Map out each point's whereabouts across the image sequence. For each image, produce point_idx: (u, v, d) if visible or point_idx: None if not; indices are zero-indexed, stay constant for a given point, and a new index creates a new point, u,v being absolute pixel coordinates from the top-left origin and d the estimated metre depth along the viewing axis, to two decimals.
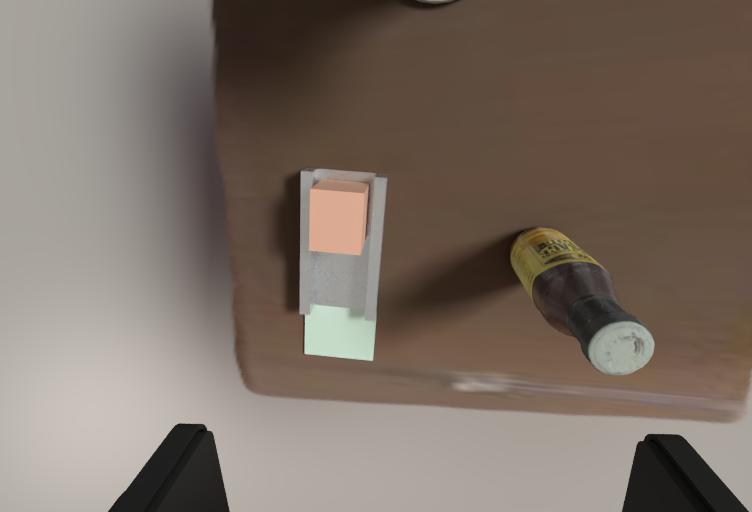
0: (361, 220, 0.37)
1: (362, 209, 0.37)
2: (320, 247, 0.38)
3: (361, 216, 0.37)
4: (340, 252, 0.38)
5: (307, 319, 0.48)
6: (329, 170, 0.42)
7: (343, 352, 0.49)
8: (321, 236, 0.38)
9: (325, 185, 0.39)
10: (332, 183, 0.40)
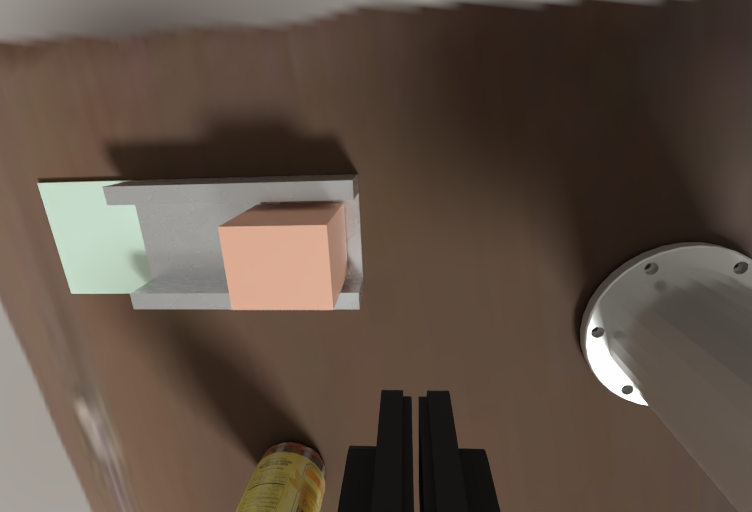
0: (289, 308, 0.23)
1: (307, 308, 0.23)
2: (229, 246, 0.22)
3: (295, 307, 0.23)
4: (228, 278, 0.23)
5: (102, 185, 0.28)
6: (358, 210, 0.27)
7: (66, 248, 0.30)
8: (247, 247, 0.22)
9: (335, 231, 0.24)
10: (339, 231, 0.25)
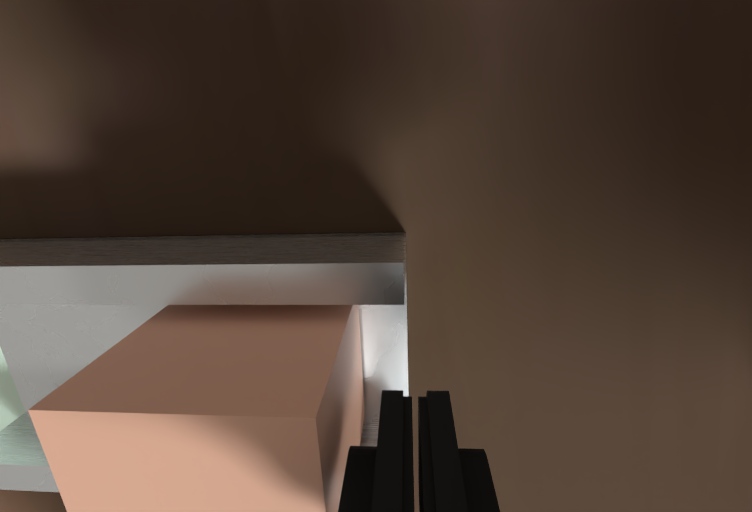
0: None
1: None
2: (64, 454, 0.08)
3: None
4: None
5: None
6: (403, 303, 0.14)
7: None
8: (110, 458, 0.08)
9: (340, 385, 0.10)
10: (350, 365, 0.12)
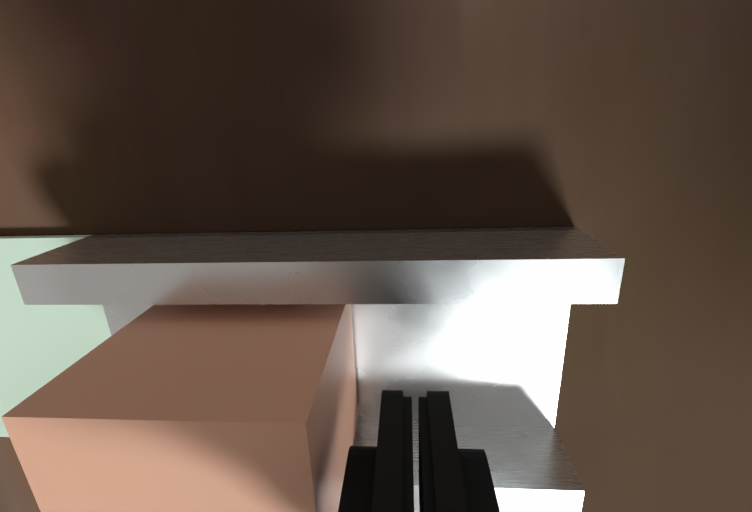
0: None
1: None
2: (41, 463, 0.08)
3: None
4: None
5: (30, 246, 0.14)
6: None
7: None
8: (90, 466, 0.08)
9: (332, 388, 0.10)
10: (342, 366, 0.11)
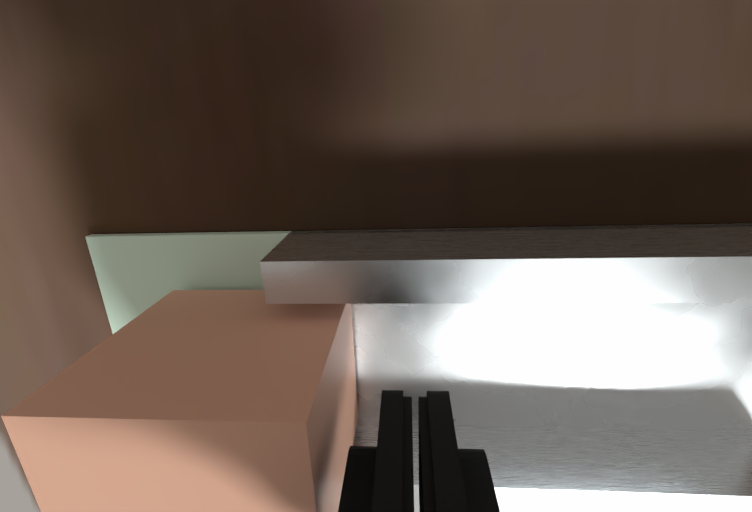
0: None
1: None
2: (41, 462, 0.08)
3: None
4: None
5: (226, 243, 0.13)
6: None
7: None
8: (90, 466, 0.08)
9: (332, 387, 0.10)
10: (342, 366, 0.11)
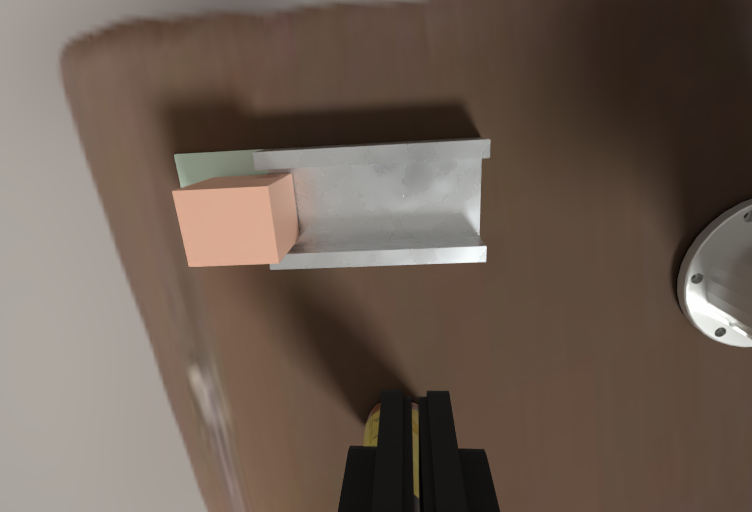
0: (240, 263, 0.26)
1: (256, 262, 0.26)
2: (183, 208, 0.25)
3: (245, 262, 0.26)
4: (184, 238, 0.25)
5: (237, 154, 0.30)
6: (479, 171, 0.29)
7: None
8: (199, 208, 0.25)
9: (280, 195, 0.27)
10: (286, 197, 0.28)
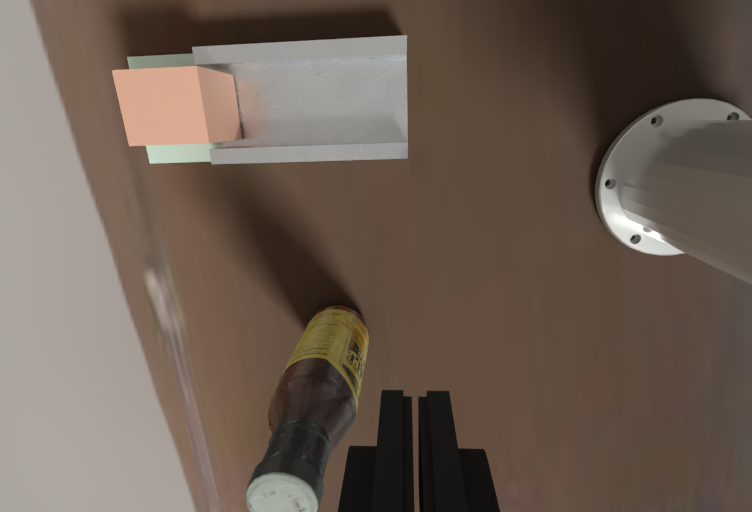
0: (174, 142, 0.28)
1: (188, 142, 0.28)
2: (122, 87, 0.27)
3: (179, 142, 0.28)
4: (124, 117, 0.28)
5: (184, 58, 0.33)
6: (405, 75, 0.32)
7: None
8: (136, 87, 0.27)
9: (214, 84, 0.29)
10: (224, 92, 0.31)
